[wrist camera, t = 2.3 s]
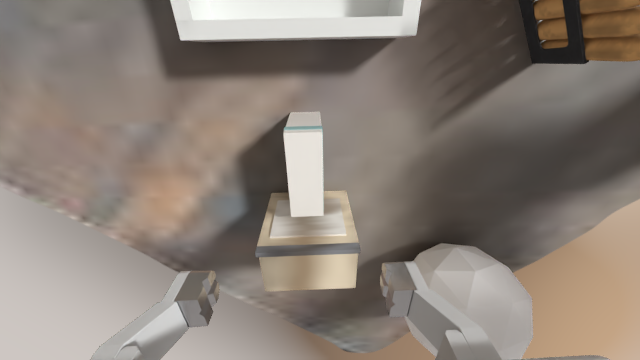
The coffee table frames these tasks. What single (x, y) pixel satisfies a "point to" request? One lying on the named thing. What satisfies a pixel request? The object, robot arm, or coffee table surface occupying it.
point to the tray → (294, 19)
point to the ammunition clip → (582, 30)
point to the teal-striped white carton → (304, 163)
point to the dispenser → (308, 246)
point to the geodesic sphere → (479, 295)
